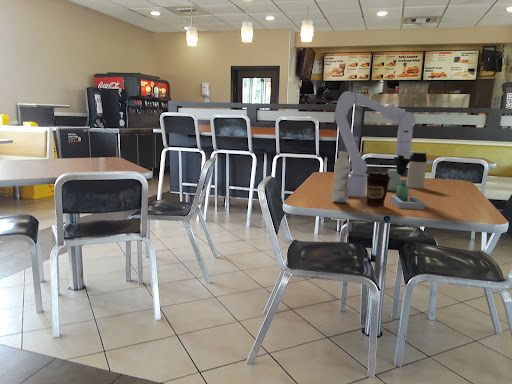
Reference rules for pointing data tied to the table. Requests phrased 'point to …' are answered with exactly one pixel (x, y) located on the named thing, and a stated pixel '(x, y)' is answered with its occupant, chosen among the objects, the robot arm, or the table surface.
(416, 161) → the travel mug
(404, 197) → the bottle
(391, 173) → the air freshener
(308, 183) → the table surface
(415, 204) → the cradle
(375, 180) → the coffee cup
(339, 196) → the plastic bottle
